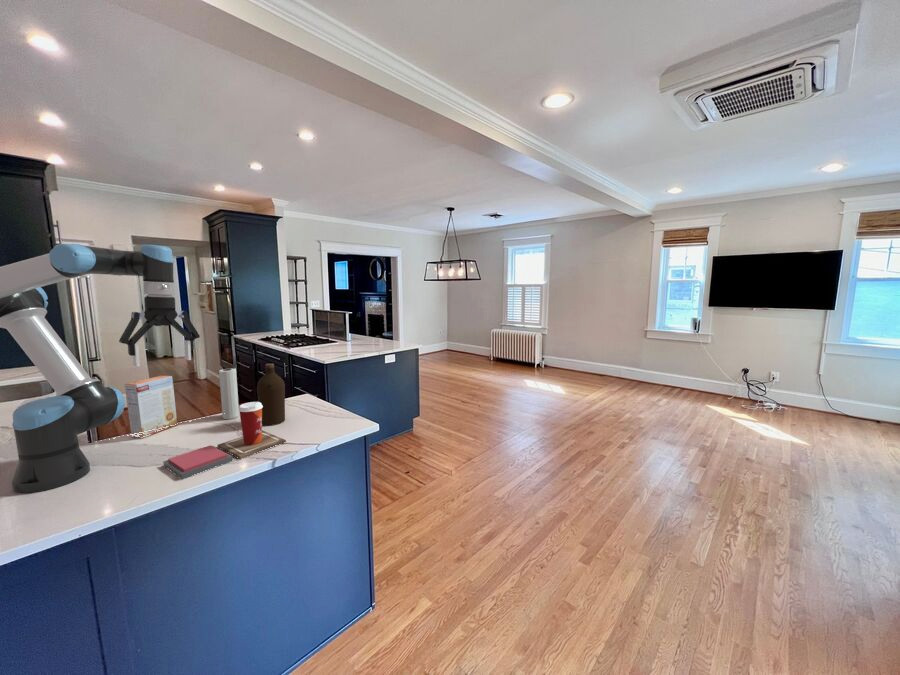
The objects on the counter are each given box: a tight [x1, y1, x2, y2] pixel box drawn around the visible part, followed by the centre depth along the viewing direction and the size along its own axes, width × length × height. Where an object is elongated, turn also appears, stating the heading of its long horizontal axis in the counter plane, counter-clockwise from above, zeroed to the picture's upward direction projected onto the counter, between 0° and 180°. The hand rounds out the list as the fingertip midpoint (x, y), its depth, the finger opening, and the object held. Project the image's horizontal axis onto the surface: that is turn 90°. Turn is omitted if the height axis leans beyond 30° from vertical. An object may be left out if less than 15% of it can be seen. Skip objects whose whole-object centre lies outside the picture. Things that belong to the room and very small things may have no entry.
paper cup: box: [238, 401, 263, 445], centre depth 127 cm, size 8×8×14 cm
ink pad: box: [162, 445, 234, 480], centre depth 114 cm, size 14×14×2 cm
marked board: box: [217, 429, 287, 460], centre depth 128 cm, size 16×16×1 cm
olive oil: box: [256, 362, 286, 427], centre depth 149 cm, size 11×11×25 cm
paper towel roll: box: [218, 367, 240, 420], centre depth 155 cm, size 7×6×21 cm
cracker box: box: [124, 375, 178, 437], centre depth 139 cm, size 14×6×21 cm, turn 168°
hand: (163, 362), depth 114 cm, fingers open, 13 cm apart
